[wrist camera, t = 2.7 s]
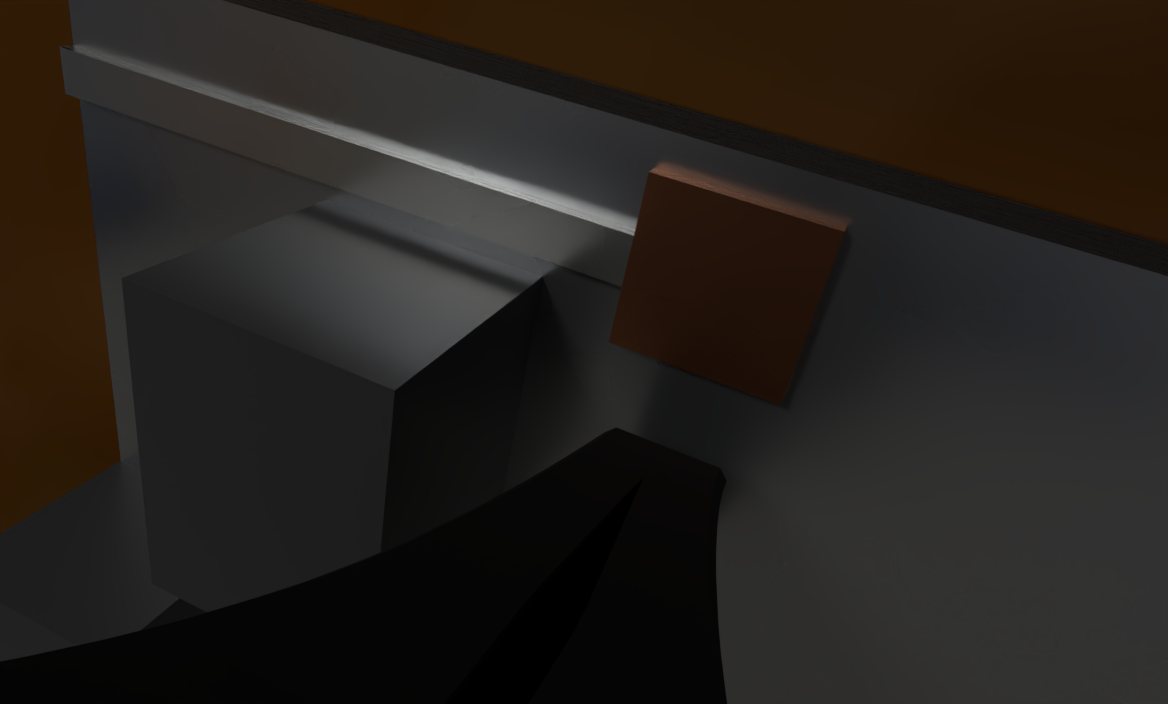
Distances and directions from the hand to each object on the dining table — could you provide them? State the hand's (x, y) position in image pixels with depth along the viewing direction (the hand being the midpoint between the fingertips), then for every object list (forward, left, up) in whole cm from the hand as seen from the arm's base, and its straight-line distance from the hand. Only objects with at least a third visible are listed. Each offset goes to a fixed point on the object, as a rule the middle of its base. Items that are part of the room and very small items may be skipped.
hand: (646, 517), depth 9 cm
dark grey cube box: (+4, 0, -1) cm, 4 cm away
